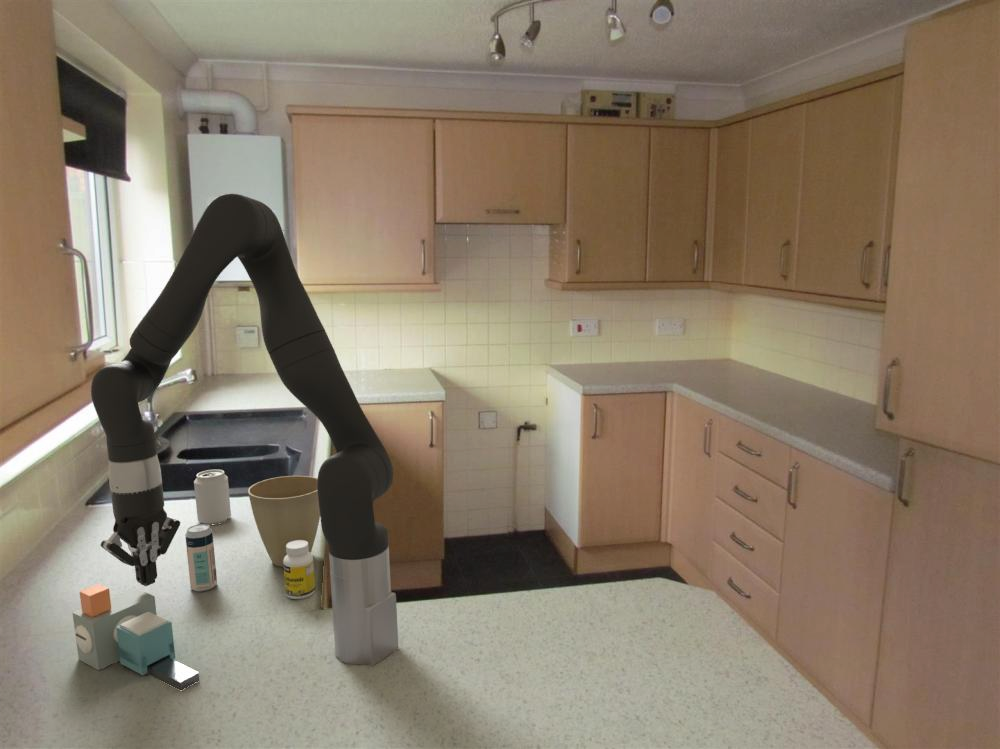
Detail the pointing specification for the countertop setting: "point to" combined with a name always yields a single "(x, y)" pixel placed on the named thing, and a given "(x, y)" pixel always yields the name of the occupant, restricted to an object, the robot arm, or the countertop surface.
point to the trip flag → (95, 600)
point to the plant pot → (285, 512)
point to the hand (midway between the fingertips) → (147, 583)
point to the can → (212, 497)
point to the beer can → (201, 557)
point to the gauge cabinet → (108, 627)
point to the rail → (173, 673)
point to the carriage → (145, 641)
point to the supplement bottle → (298, 570)
